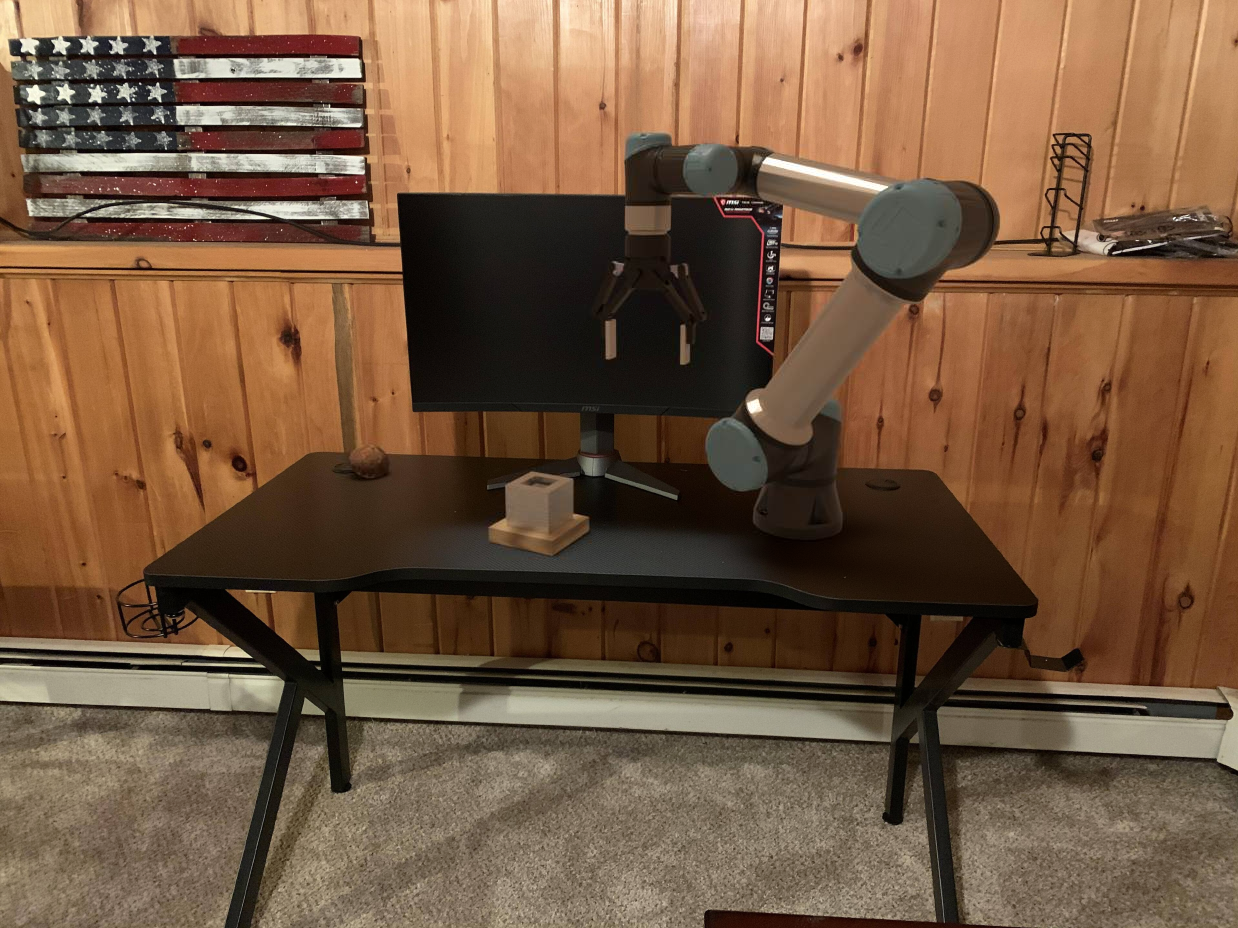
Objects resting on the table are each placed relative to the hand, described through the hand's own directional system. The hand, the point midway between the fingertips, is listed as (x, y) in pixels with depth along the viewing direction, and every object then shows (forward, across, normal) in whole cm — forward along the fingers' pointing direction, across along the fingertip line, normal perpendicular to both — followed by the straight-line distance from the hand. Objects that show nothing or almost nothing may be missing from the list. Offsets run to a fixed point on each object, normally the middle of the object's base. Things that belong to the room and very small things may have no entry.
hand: (647, 360), depth 158 cm
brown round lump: (+26, +56, +6) cm, 62 cm away
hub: (+24, +11, +20) cm, 33 cm away
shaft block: (+27, +11, +20) cm, 35 cm away
